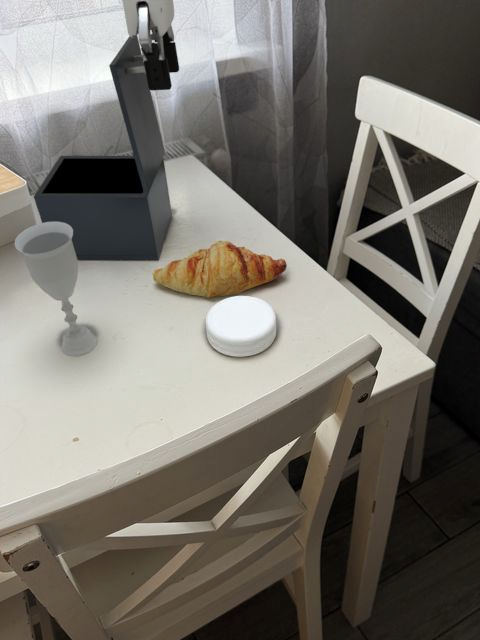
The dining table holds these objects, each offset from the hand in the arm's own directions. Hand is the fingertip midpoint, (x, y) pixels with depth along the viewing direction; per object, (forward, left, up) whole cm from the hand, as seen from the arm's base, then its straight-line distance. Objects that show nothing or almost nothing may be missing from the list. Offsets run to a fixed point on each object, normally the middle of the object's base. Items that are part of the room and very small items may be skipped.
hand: (164, 79), depth 86 cm
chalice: (+11, -28, -27) cm, 40 cm away
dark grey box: (-9, -9, -27) cm, 30 cm away
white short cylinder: (+26, -10, -27) cm, 39 cm away
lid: (-3, -3, -5) cm, 7 cm away
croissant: (+14, -4, -27) cm, 31 cm away
